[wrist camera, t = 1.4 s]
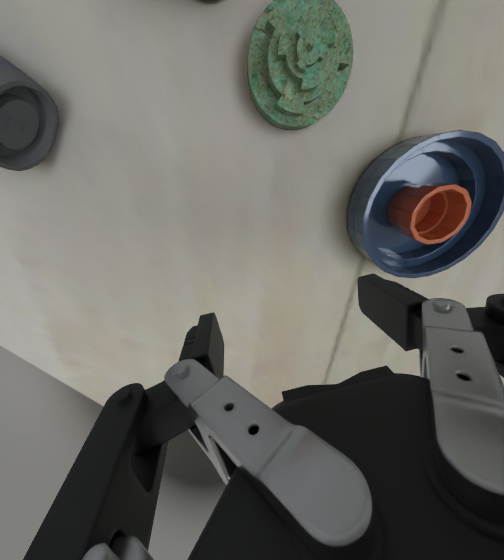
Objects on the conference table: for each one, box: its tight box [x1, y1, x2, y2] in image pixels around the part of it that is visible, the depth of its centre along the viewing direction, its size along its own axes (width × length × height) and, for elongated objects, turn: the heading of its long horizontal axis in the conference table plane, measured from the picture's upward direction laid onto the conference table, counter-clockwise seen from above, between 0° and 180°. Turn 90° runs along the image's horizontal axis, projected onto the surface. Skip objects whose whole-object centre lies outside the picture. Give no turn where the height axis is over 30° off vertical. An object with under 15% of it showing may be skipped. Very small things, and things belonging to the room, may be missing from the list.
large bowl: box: [347, 130, 504, 278], centre depth 29 cm, size 16×16×5 cm
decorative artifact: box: [247, 0, 353, 130], centre depth 21 cm, size 10×7×10 cm
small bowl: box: [388, 183, 472, 244], centre depth 28 cm, size 6×6×6 cm
